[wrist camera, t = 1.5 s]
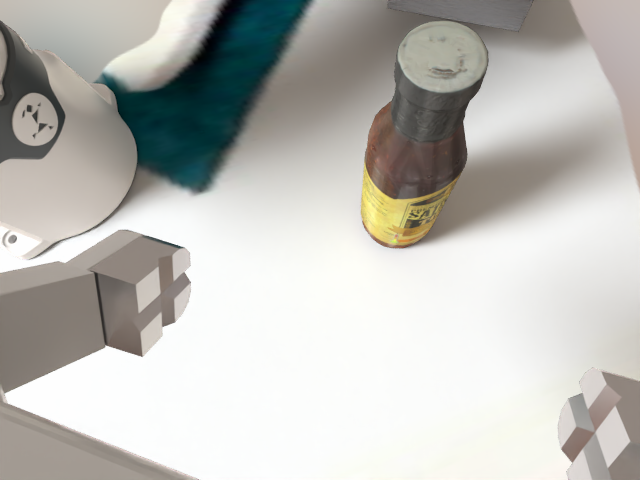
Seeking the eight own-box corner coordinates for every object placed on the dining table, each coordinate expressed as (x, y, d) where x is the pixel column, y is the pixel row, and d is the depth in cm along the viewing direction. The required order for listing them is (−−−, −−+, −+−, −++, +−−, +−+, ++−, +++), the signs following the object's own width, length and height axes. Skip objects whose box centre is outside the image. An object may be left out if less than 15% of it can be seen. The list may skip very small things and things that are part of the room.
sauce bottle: (405, 265, 36) (458, 155, 17) (346, 224, 38) (335, 81, 19) (447, 207, 37) (543, 43, 18) (389, 169, 39) (420, -19, 20)
